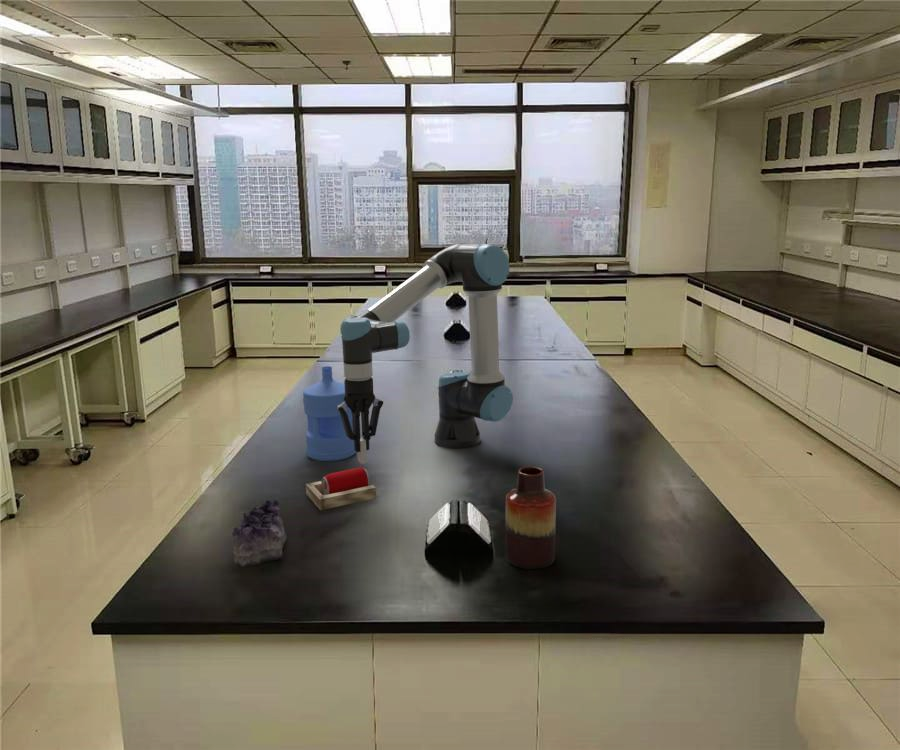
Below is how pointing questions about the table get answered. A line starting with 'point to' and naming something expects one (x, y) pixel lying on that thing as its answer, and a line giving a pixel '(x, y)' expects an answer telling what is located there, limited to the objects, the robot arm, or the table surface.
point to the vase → (530, 521)
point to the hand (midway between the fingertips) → (362, 462)
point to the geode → (259, 535)
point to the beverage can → (345, 480)
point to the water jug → (326, 420)
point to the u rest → (338, 495)
